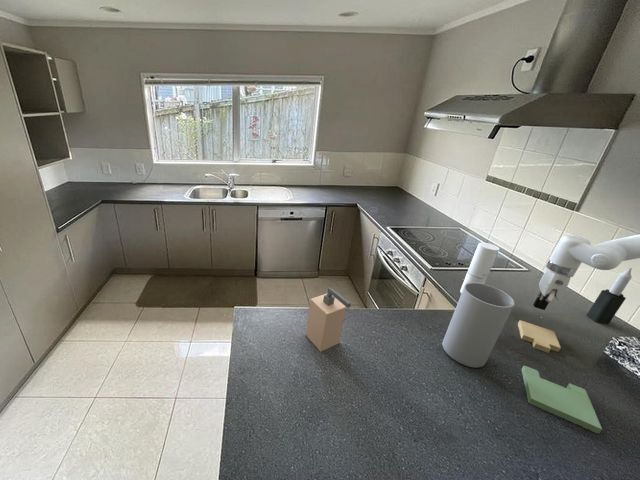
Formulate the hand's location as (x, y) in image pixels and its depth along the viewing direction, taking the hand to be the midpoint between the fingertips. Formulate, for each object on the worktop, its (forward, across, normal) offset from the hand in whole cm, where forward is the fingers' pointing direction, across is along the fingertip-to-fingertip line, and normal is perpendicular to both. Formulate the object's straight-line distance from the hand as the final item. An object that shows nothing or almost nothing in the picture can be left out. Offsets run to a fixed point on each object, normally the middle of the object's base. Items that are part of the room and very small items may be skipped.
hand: (538, 307), depth 110 cm
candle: (+7, +20, -23) cm, 31 cm away
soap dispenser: (+8, -62, +62) cm, 89 cm away
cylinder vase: (+8, -37, +23) cm, 44 cm away
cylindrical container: (+8, +7, +21) cm, 23 cm away
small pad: (+7, -12, 0) cm, 14 cm away
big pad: (+7, -40, 0) cm, 41 cm away
